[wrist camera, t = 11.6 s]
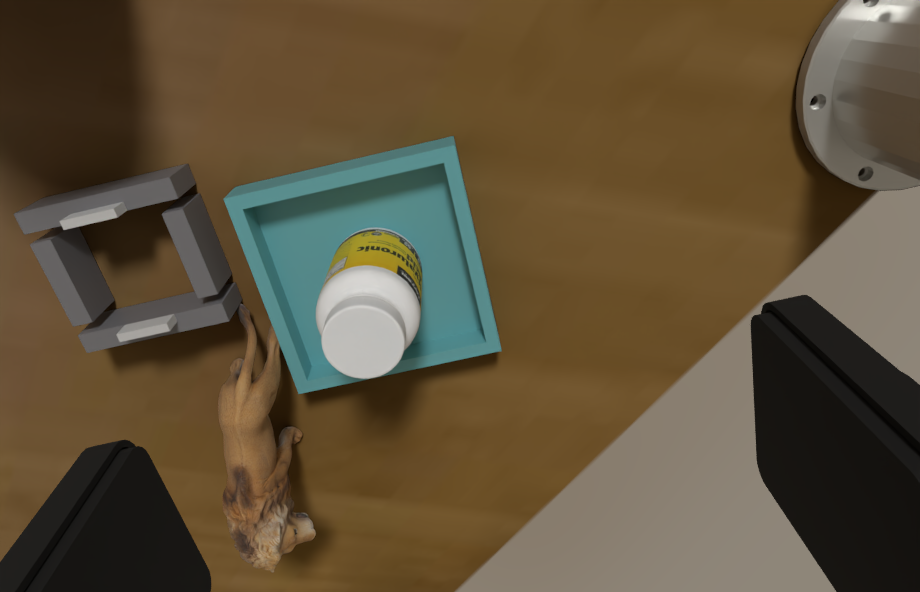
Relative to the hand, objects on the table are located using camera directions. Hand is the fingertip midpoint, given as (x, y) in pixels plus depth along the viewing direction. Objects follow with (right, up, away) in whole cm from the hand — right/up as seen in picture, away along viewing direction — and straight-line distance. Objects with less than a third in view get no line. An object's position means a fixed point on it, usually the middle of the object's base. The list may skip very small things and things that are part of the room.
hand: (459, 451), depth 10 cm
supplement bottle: (-5, +4, +31) cm, 31 cm away
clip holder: (-19, +5, +30) cm, 36 cm away
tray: (-5, +4, +31) cm, 32 cm away
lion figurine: (-12, -5, +35) cm, 38 cm away
